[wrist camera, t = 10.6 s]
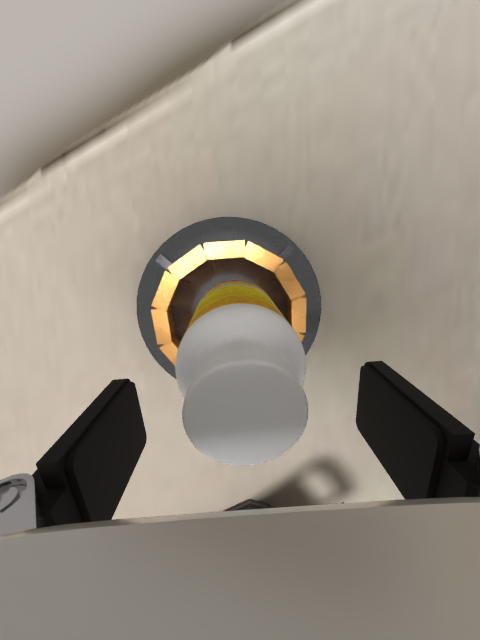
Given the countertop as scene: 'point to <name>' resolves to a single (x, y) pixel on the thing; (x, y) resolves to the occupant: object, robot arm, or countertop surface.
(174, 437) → the countertop surface
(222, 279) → the rosette plate
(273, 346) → the supplement bottle
